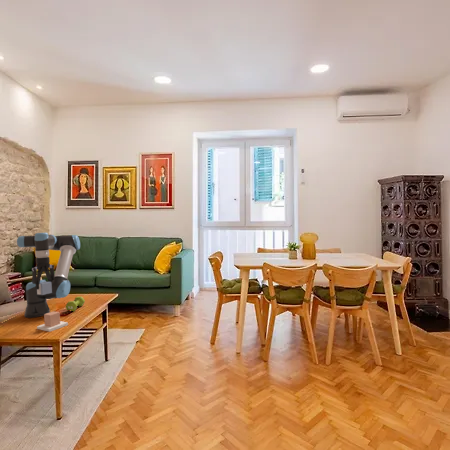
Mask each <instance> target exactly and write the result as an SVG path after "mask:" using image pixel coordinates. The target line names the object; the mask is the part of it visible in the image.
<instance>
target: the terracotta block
mask: <svg viewBox="0 0 450 450" xmlns="http://www.w3.org/2000/svg"><path fill="white" fill-rule="evenodd" d="M60 313H61V312H59V311H55V310H54V311H50V313H46V314H44V316H43V317H44V318H43V319H44V324H45V326H49V327H52V326H55V325H58V324H60V321H61V314H60Z"/></svg>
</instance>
